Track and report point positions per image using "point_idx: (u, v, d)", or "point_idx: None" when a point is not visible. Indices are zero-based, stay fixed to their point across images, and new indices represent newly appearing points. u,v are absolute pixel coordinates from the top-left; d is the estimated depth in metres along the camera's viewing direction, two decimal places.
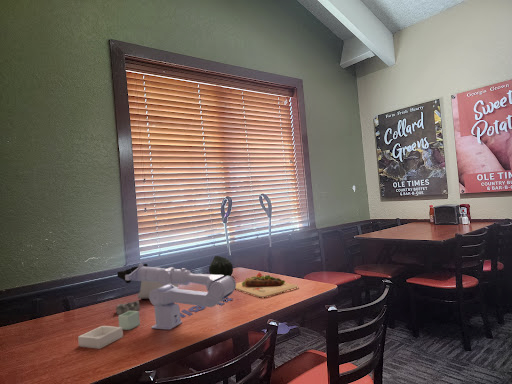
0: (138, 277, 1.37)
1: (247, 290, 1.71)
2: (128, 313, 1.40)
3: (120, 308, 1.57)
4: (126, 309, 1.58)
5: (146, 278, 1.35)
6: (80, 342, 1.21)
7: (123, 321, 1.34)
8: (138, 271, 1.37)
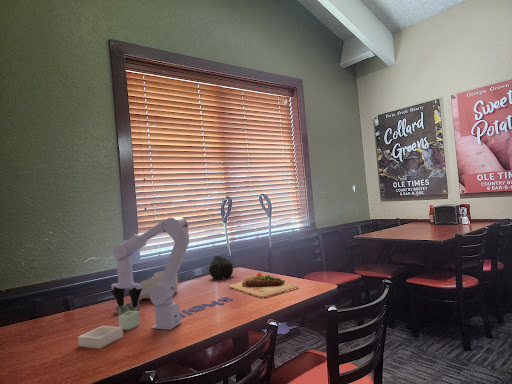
0: (132, 281, 1.37)
1: (247, 290, 1.71)
2: (128, 313, 1.40)
3: (120, 308, 1.57)
4: (126, 309, 1.58)
5: (124, 273, 1.35)
6: (80, 342, 1.21)
7: (123, 321, 1.34)
8: (127, 283, 1.35)
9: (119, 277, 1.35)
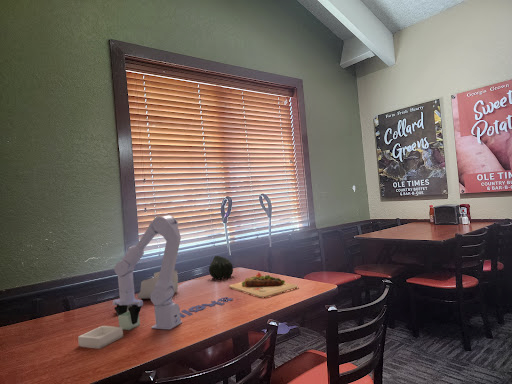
0: (134, 298, 1.37)
1: (247, 290, 1.71)
2: (128, 313, 1.40)
3: None
4: None
5: (125, 290, 1.35)
6: (80, 342, 1.21)
7: (123, 321, 1.34)
8: (129, 300, 1.35)
9: (120, 294, 1.35)
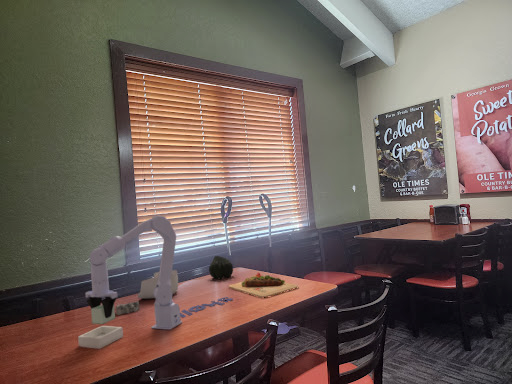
0: (107, 289, 1.26)
1: (247, 290, 1.71)
2: None
3: (120, 308, 1.57)
4: (126, 309, 1.58)
5: (102, 280, 1.25)
6: (80, 342, 1.21)
7: (96, 315, 1.24)
8: (102, 291, 1.24)
9: (93, 285, 1.24)
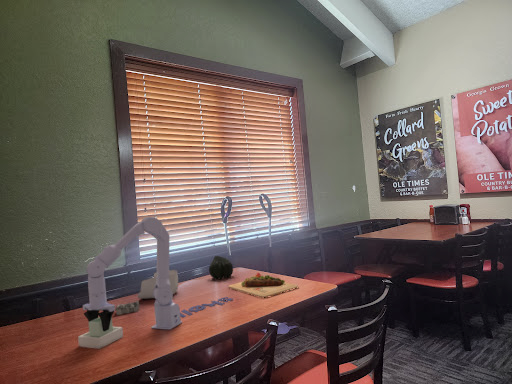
0: (105, 302, 1.25)
1: (247, 290, 1.71)
2: (100, 319, 1.27)
3: (120, 309, 1.56)
4: (126, 310, 1.57)
5: (100, 292, 1.23)
6: (80, 342, 1.21)
7: (93, 328, 1.22)
8: (99, 304, 1.22)
9: (90, 298, 1.23)
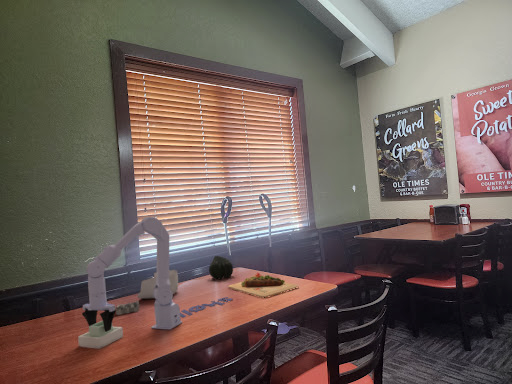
0: (105, 302, 1.25)
1: (247, 290, 1.71)
2: (100, 323, 1.27)
3: (120, 309, 1.56)
4: (126, 310, 1.57)
5: (100, 292, 1.23)
6: (80, 342, 1.21)
7: (94, 333, 1.22)
8: (99, 304, 1.22)
9: (90, 298, 1.23)
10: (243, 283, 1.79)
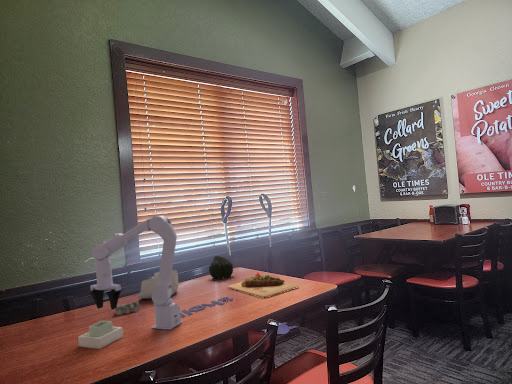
0: (111, 283, 1.34)
1: (247, 290, 1.71)
2: (100, 323, 1.27)
3: (120, 309, 1.56)
4: (126, 310, 1.57)
5: (104, 274, 1.32)
6: (80, 342, 1.21)
7: (94, 333, 1.22)
8: (106, 284, 1.32)
9: (97, 278, 1.32)
10: (243, 283, 1.79)
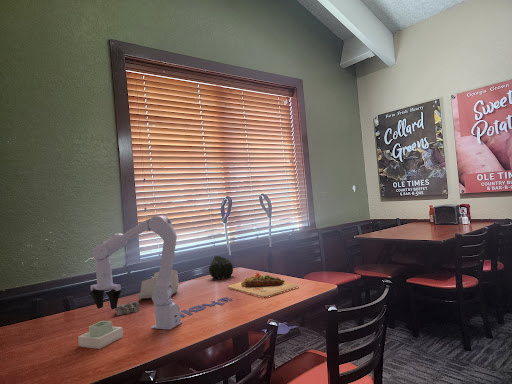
0: (111, 283, 1.34)
1: (247, 290, 1.71)
2: (100, 323, 1.27)
3: (120, 309, 1.56)
4: (126, 310, 1.57)
5: (104, 274, 1.32)
6: (80, 342, 1.21)
7: (94, 333, 1.22)
8: (106, 284, 1.32)
9: (97, 278, 1.32)
10: (243, 283, 1.79)
